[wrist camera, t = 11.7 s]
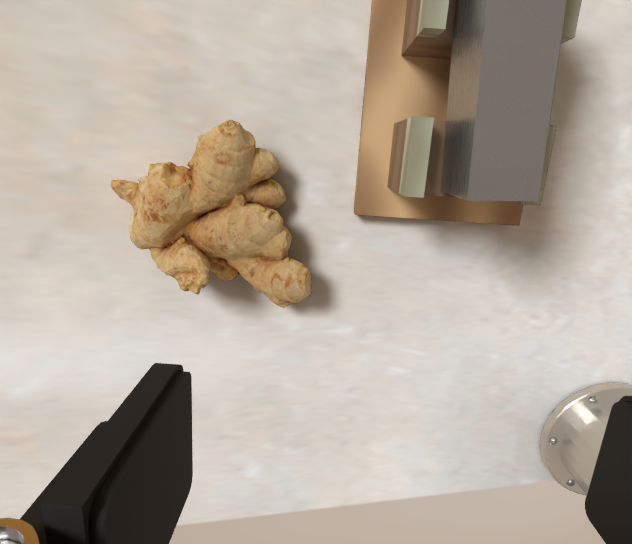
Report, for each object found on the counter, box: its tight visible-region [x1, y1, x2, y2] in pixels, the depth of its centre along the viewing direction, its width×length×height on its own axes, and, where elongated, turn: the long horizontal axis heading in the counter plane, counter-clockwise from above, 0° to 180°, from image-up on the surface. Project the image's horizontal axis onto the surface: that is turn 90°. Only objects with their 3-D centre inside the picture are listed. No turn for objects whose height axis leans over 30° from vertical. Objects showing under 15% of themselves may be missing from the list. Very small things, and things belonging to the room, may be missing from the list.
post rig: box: [354, 0, 582, 225], centre depth 31 cm, size 14×20×10 cm
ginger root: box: [111, 120, 312, 308], centre depth 36 cm, size 16×16×8 cm
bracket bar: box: [440, 0, 567, 201], centre depth 26 cm, size 4×14×6 cm, turn 0°
